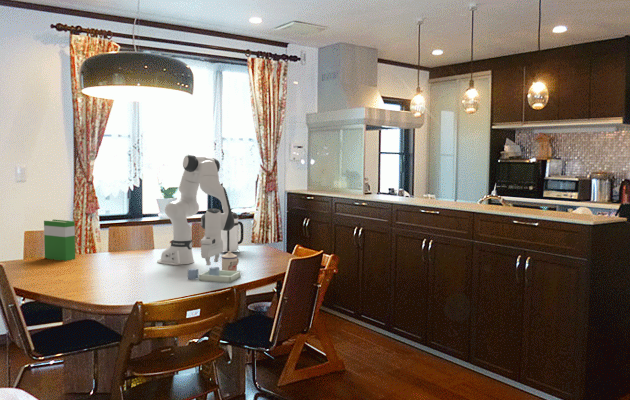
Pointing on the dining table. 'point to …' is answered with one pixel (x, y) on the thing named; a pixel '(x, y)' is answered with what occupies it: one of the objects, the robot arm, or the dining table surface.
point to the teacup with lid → (229, 262)
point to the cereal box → (59, 239)
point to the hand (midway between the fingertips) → (212, 263)
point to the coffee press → (232, 236)
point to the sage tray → (220, 276)
